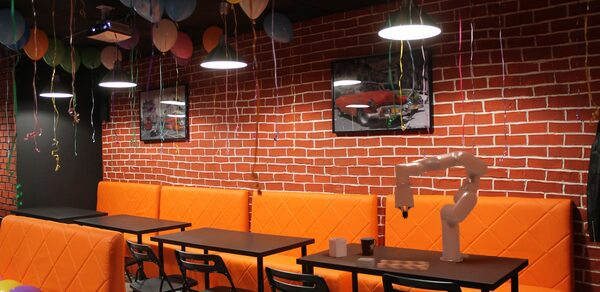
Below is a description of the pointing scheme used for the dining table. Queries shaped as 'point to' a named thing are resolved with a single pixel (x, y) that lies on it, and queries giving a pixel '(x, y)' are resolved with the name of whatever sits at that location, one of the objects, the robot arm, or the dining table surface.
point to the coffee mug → (367, 246)
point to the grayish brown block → (366, 262)
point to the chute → (403, 265)
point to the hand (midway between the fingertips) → (405, 218)
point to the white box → (337, 247)
